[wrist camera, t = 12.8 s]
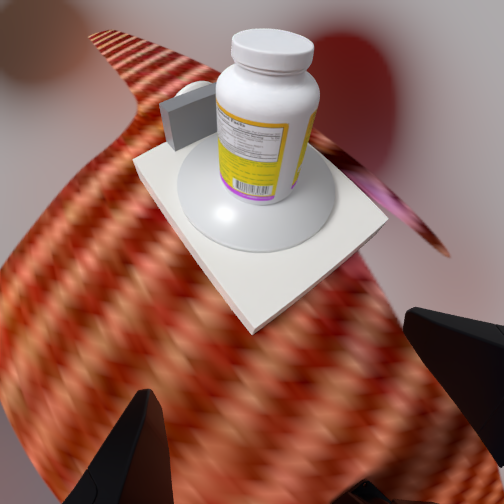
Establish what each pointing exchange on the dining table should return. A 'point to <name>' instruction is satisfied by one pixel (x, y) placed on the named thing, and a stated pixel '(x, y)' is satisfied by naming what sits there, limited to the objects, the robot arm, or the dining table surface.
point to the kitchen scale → (252, 215)
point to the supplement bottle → (265, 114)
